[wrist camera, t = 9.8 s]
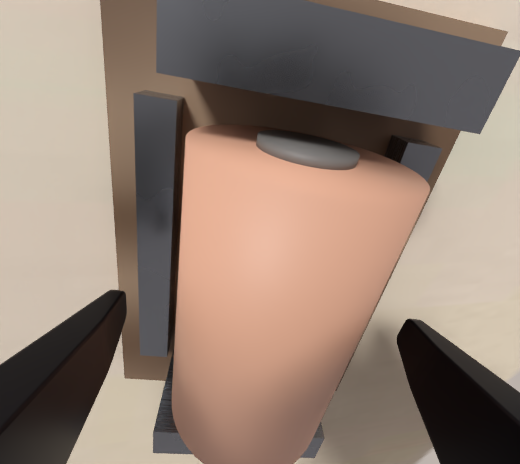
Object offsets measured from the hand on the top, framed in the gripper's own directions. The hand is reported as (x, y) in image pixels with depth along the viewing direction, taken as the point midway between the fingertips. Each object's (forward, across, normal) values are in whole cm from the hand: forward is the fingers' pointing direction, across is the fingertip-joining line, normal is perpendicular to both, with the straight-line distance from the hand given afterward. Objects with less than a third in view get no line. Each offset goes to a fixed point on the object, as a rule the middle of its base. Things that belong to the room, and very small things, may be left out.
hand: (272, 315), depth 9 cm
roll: (+4, 0, 0) cm, 4 cm away
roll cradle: (+4, 0, 0) cm, 4 cm away
